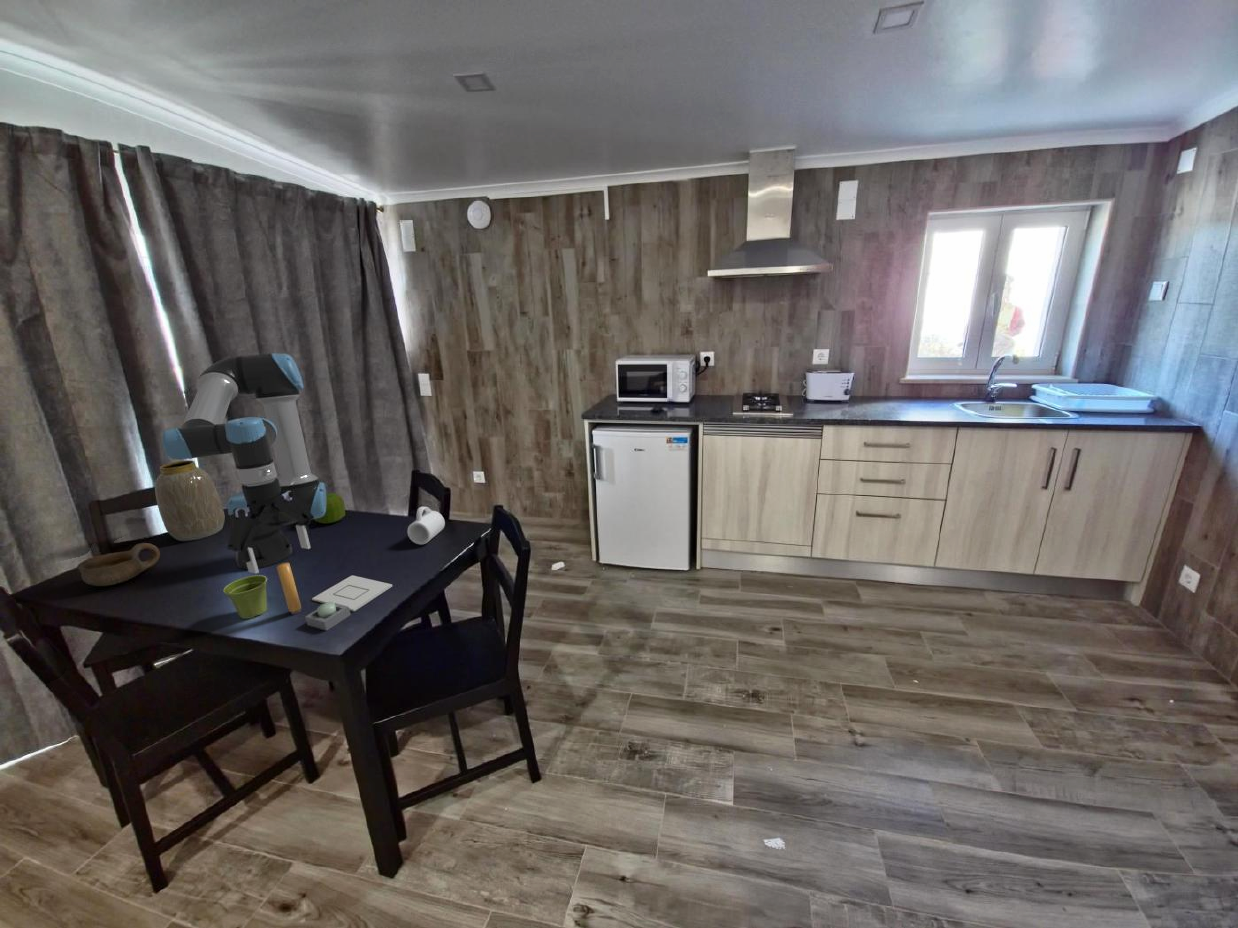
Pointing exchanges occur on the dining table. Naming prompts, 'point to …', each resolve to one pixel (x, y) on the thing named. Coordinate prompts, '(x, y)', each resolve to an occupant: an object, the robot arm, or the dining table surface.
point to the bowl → (117, 566)
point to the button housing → (329, 622)
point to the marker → (289, 588)
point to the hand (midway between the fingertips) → (281, 559)
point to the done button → (326, 610)
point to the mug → (425, 526)
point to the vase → (188, 501)
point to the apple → (333, 509)
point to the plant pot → (248, 595)
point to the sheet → (353, 592)
